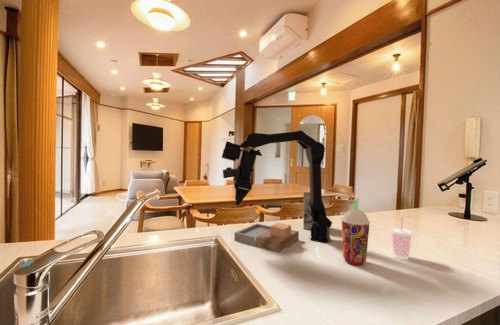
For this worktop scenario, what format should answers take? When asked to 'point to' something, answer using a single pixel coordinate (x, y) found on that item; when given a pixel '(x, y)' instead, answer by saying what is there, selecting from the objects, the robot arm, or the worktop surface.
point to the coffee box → (306, 219)
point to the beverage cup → (401, 242)
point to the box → (251, 233)
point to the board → (276, 241)
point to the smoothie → (355, 236)
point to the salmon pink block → (280, 230)
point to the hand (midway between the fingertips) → (236, 202)
